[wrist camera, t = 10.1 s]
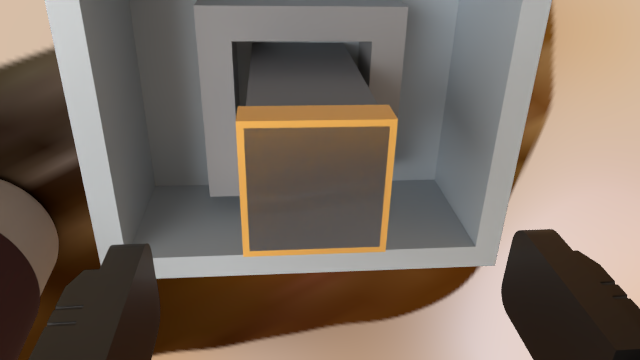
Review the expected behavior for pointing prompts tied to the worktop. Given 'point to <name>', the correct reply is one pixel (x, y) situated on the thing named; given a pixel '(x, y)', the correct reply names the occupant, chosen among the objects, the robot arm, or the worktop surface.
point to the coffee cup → (22, 264)
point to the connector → (312, 154)
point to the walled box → (231, 91)
